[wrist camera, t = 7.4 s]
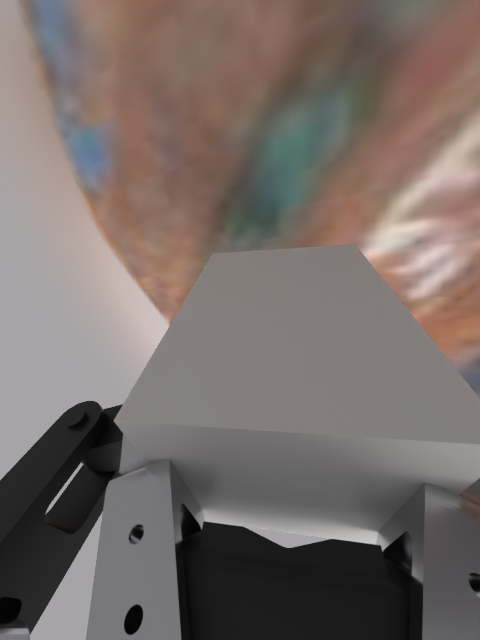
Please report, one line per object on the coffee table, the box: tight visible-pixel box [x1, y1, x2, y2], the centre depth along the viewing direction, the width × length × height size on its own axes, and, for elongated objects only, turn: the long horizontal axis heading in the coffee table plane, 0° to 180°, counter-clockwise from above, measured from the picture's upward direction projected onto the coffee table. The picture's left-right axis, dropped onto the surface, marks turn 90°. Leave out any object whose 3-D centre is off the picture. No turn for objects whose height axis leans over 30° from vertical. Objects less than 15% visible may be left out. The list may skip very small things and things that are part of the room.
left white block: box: [114, 244, 480, 545], centre depth 8 cm, size 6×6×8 cm
